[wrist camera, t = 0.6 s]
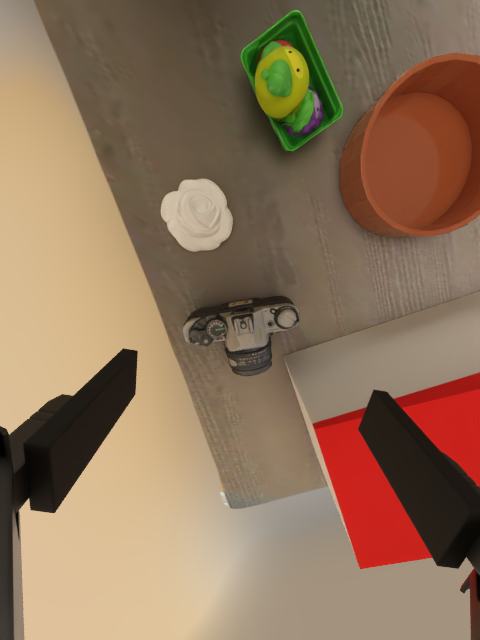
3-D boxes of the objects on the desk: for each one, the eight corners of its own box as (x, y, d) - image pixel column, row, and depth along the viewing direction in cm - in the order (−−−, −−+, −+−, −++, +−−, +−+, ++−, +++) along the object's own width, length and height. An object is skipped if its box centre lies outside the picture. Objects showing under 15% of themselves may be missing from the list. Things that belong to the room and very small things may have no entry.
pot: (354, 81, 33) (382, 42, 27) (491, 98, 34) (549, 64, 28) (328, 231, 38) (346, 227, 32) (448, 243, 39) (489, 242, 32)
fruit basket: (331, 132, 35) (374, 79, 24) (274, 172, 36) (290, 139, 25) (289, 41, 32) (316, -65, 21) (228, 88, 33) (224, 10, 22)
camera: (202, 364, 43) (192, 398, 34) (188, 305, 41) (172, 323, 31) (295, 349, 43) (312, 378, 33) (287, 288, 40) (303, 300, 30)
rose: (150, 244, 34) (158, 162, 31) (160, 244, 38) (168, 172, 36) (225, 259, 35) (239, 179, 32) (227, 257, 39) (239, 187, 36)
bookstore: (507, 395, 46) (721, 511, 26) (315, 452, 48) (371, 597, 28) (498, 284, 40) (758, 320, 20) (282, 355, 43) (323, 449, 23)
